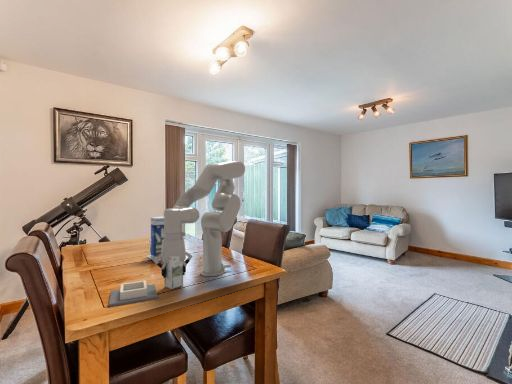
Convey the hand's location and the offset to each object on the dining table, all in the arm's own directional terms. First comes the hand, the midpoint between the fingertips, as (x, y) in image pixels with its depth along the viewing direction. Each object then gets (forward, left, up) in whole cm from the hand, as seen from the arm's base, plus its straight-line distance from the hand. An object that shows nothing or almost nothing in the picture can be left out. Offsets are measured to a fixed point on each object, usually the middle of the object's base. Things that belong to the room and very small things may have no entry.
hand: (173, 275), depth 118 cm
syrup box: (0, 0, -5) cm, 5 cm away
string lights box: (-1, -48, -5) cm, 48 cm away
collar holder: (+16, +3, -5) cm, 17 cm away
